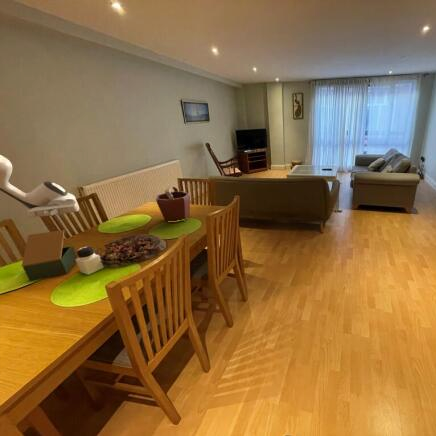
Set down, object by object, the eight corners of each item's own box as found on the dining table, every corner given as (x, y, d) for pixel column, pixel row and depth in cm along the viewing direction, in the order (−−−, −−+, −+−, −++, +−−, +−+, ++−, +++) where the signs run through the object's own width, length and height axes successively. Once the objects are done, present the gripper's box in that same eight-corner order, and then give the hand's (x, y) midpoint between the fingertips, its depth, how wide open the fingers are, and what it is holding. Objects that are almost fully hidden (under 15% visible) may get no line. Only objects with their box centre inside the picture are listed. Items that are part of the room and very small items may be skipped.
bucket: (183, 225, 170) (177, 191, 161) (153, 225, 171) (144, 191, 161) (197, 213, 193) (192, 183, 183) (170, 213, 193) (163, 182, 184)
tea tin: (44, 264, 124) (38, 251, 121) (77, 258, 129) (72, 245, 126) (29, 281, 111) (22, 267, 108) (66, 273, 116) (61, 260, 113)
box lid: (29, 235, 116) (28, 234, 115) (64, 230, 121) (63, 229, 121) (22, 266, 108) (21, 265, 108) (61, 259, 114) (60, 258, 113)
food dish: (89, 277, 115) (83, 264, 112) (99, 249, 141) (94, 238, 138) (169, 256, 131) (165, 243, 128) (164, 234, 157) (161, 223, 154)
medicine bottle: (104, 267, 121) (96, 246, 117) (88, 275, 115) (79, 253, 111) (95, 264, 124) (88, 244, 119) (79, 271, 118) (71, 250, 113)
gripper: (31, 203, 128) (17, 212, 117) (79, 198, 136) (70, 205, 125) (36, 214, 131) (23, 223, 119) (83, 209, 139) (74, 217, 127)
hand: (48, 214), depth 122 cm, fingers closed
